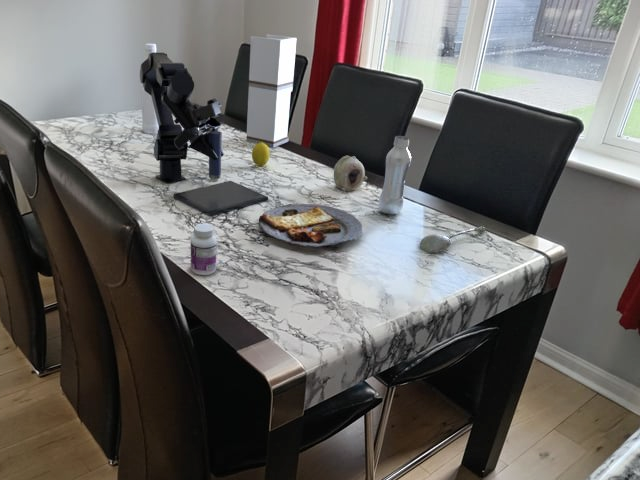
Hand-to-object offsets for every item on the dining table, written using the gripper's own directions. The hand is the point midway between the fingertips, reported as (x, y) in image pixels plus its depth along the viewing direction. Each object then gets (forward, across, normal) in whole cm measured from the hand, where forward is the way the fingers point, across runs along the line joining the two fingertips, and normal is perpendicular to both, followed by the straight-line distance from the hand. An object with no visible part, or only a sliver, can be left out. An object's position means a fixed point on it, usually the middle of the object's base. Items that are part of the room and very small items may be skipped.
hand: (219, 157), depth 152 cm
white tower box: (+1, +60, +14) cm, 62 cm away
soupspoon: (+52, +2, -36) cm, 63 cm away
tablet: (+9, -1, +7) cm, 11 cm away
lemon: (+8, +31, +8) cm, 33 cm away
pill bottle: (+19, -40, -3) cm, 45 cm away
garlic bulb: (+29, +26, -13) cm, 41 cm away
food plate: (+28, -10, -13) cm, 33 cm away
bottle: (-28, +49, +43) cm, 71 cm away
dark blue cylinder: (+4, 0, +6) cm, 7 cm away
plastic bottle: (+39, +13, -24) cm, 47 cm away
